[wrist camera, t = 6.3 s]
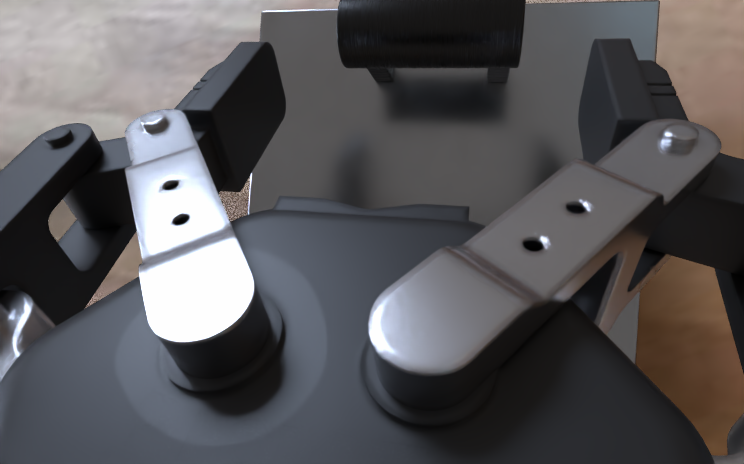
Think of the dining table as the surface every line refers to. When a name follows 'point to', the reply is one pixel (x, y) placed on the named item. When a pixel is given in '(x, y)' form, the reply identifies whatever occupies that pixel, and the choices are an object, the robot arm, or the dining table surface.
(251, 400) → the robot arm
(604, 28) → the lid
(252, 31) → the dining table surface
